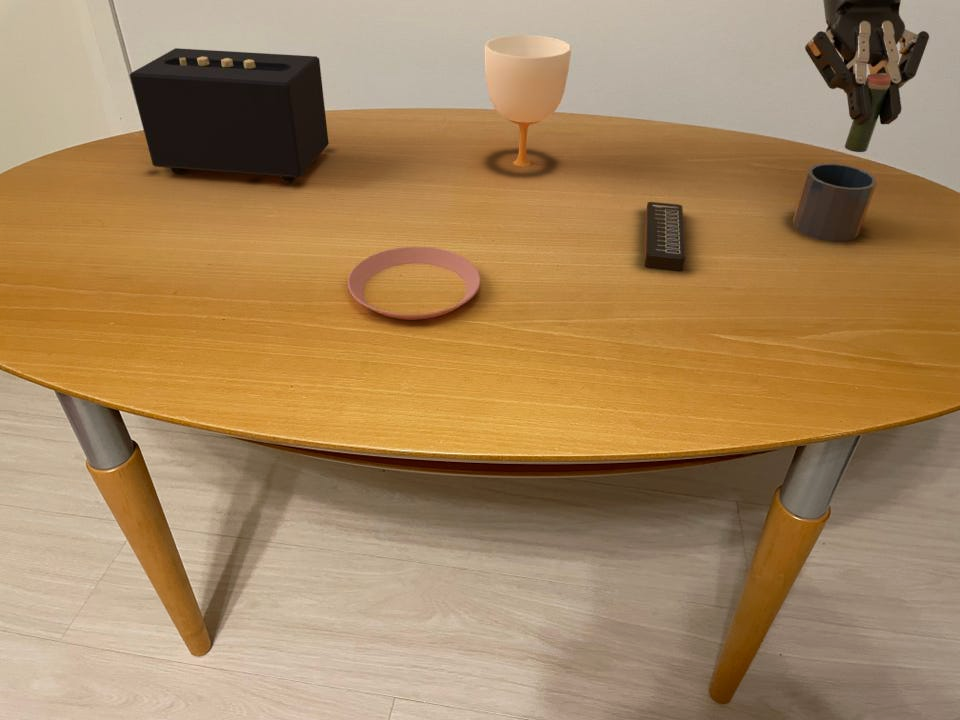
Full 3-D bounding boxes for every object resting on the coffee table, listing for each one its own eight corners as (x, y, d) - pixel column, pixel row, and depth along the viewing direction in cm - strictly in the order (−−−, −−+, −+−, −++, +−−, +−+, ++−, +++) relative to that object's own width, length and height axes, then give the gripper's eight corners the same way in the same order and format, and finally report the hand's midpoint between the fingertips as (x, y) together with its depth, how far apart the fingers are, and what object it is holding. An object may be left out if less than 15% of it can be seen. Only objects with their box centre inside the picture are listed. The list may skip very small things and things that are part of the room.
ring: (492, 323, 77) (493, 307, 76) (353, 337, 74) (352, 321, 73) (467, 256, 88) (467, 241, 87) (345, 267, 86) (343, 251, 84)
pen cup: (854, 223, 97) (874, 168, 92) (858, 250, 91) (879, 193, 86) (791, 213, 99) (807, 159, 94) (791, 239, 93) (808, 183, 88)
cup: (550, 188, 104) (561, 61, 94) (471, 176, 107) (472, 52, 96) (569, 157, 113) (580, 39, 103) (495, 147, 116) (498, 31, 105)
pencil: (866, 146, 86) (890, 75, 81) (868, 153, 84) (893, 81, 79) (843, 143, 86) (866, 72, 82) (844, 150, 85) (867, 79, 80)
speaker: (330, 154, 113) (319, 50, 103) (302, 188, 102) (287, 77, 93) (195, 144, 115) (173, 41, 106) (154, 177, 105) (126, 67, 96)
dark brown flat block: (643, 272, 86) (646, 254, 84) (644, 217, 97) (647, 200, 96) (682, 276, 85) (685, 258, 84) (679, 220, 96) (682, 204, 95)
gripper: (816, -48, 79) (834, 106, 77) (939, -47, 80) (961, 104, 78) (782, -4, 87) (798, 137, 84) (895, -4, 88) (914, 135, 85)
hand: (876, 120), depth 81 cm, fingers closed on pencil, 2 cm apart
